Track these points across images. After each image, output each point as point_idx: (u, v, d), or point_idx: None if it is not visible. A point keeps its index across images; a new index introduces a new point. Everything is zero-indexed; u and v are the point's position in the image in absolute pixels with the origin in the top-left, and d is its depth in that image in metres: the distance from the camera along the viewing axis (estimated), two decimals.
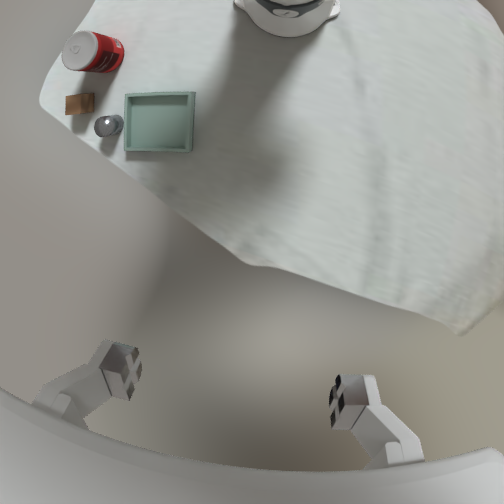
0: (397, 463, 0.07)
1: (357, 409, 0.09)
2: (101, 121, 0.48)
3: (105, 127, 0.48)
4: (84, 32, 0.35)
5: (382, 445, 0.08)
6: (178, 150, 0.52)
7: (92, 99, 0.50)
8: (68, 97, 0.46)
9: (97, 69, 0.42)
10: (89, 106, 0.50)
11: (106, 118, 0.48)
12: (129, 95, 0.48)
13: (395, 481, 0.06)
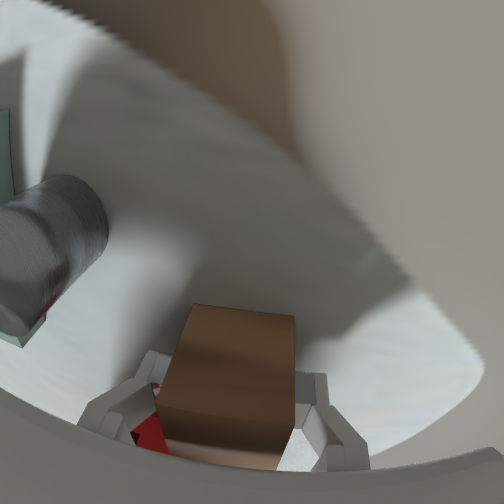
0: (338, 468, 0.07)
1: (303, 408, 0.10)
2: (5, 315, 0.07)
3: None
4: None
5: None
6: None
7: None
8: (255, 468, 0.09)
9: None
10: None
11: None
12: (8, 338, 0.12)
13: (395, 481, 0.06)
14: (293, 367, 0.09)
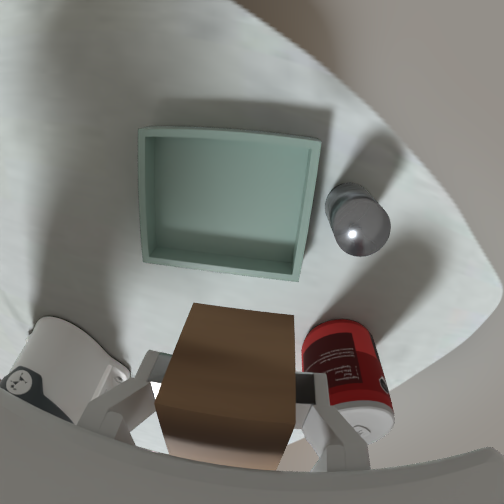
0: (338, 468, 0.07)
1: (303, 408, 0.10)
2: (364, 245, 0.20)
3: (354, 226, 0.20)
4: None
5: None
6: (160, 132, 0.20)
7: None
8: (256, 468, 0.09)
9: (340, 361, 0.24)
10: None
11: (346, 249, 0.20)
12: (287, 277, 0.25)
13: (395, 481, 0.06)
14: (293, 366, 0.09)
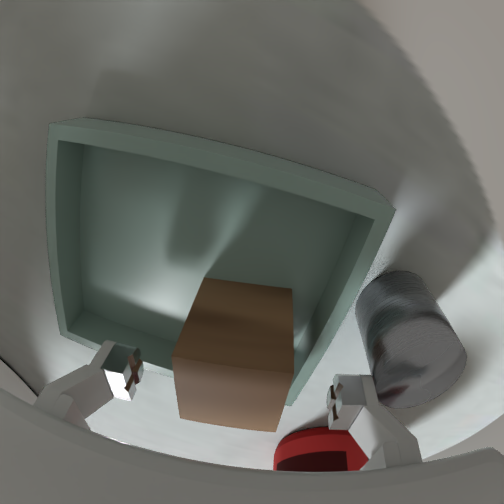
0: (394, 463, 0.07)
1: (354, 409, 0.09)
2: (414, 395, 0.10)
3: (413, 374, 0.10)
4: None
5: (380, 445, 0.08)
6: (82, 135, 0.09)
7: None
8: (258, 426, 0.11)
9: None
10: None
11: (386, 400, 0.10)
12: None
13: (395, 481, 0.06)
14: (292, 328, 0.11)
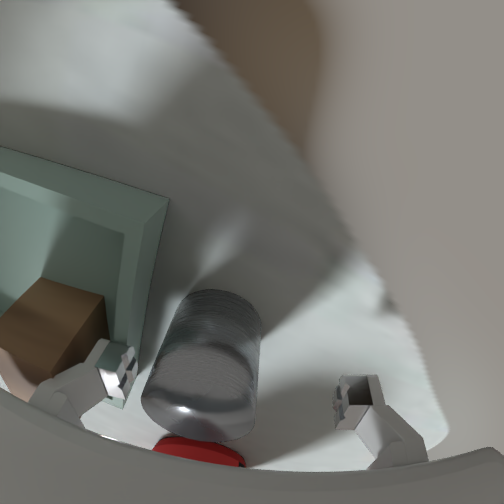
0: (401, 462, 0.07)
1: (361, 409, 0.09)
2: (200, 431, 0.10)
3: (179, 408, 0.09)
4: None
5: (386, 445, 0.08)
6: None
7: None
8: None
9: None
10: None
11: (167, 426, 0.10)
12: (106, 399, 0.14)
13: (395, 481, 0.06)
14: (75, 333, 0.10)
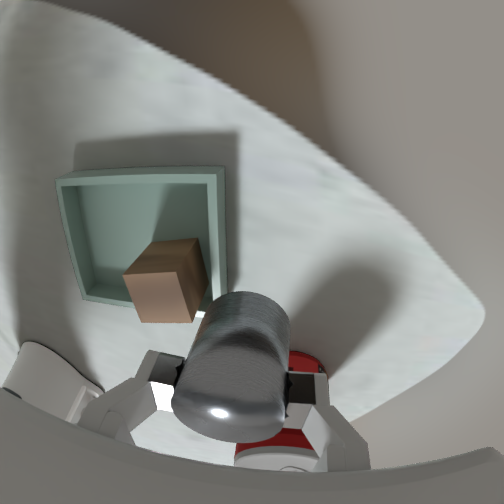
0: (338, 468, 0.07)
1: (303, 408, 0.10)
2: (226, 432, 0.10)
3: (209, 409, 0.09)
4: None
5: None
6: (71, 182, 0.20)
7: None
8: (180, 319, 0.20)
9: None
10: None
11: (193, 427, 0.10)
12: None
13: (395, 481, 0.06)
14: (186, 254, 0.20)
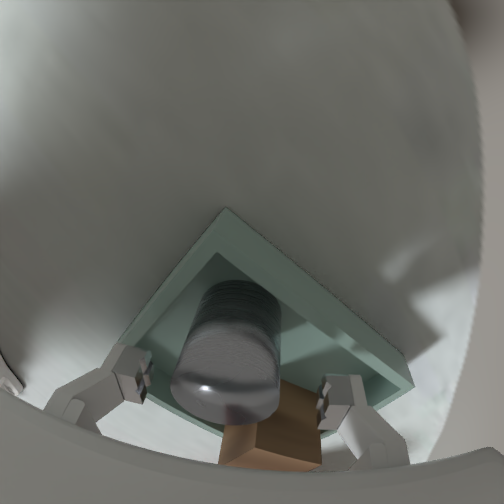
0: (381, 465, 0.07)
1: (342, 409, 0.09)
2: (224, 414, 0.11)
3: (207, 390, 0.10)
4: None
5: (367, 446, 0.08)
6: (249, 267, 0.11)
7: None
8: None
9: None
10: None
11: (192, 410, 0.11)
12: None
13: (395, 481, 0.06)
14: (319, 430, 0.14)
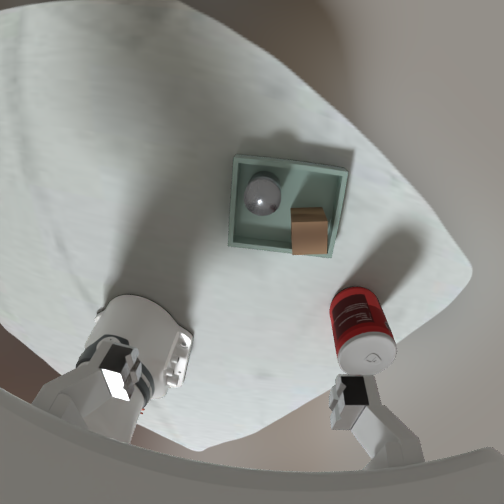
0: (397, 463, 0.07)
1: (357, 409, 0.09)
2: (267, 207, 0.33)
3: (256, 198, 0.33)
4: (353, 374, 0.36)
5: (382, 445, 0.08)
6: (249, 161, 0.34)
7: None
8: (320, 251, 0.35)
9: (359, 310, 0.37)
10: None
11: (258, 213, 0.33)
12: (324, 254, 0.38)
13: (395, 481, 0.06)
14: (324, 214, 0.35)
